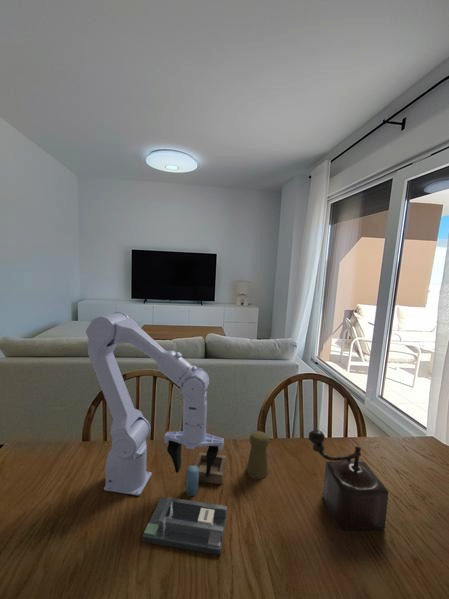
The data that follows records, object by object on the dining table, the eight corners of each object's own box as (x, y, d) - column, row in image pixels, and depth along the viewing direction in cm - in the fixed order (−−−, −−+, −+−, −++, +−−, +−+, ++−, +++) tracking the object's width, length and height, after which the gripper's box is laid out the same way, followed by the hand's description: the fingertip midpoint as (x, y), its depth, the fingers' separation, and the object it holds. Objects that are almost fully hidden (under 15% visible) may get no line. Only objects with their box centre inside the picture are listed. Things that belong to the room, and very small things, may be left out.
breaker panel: (142, 541, 60) (142, 527, 59) (160, 501, 70) (161, 489, 70) (220, 555, 58) (221, 540, 57) (227, 512, 68) (227, 499, 68)
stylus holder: (192, 480, 78) (192, 470, 77) (198, 460, 86) (199, 452, 85) (221, 484, 77) (222, 474, 76) (226, 464, 85) (226, 455, 84)
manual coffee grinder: (359, 492, 76) (366, 426, 74) (386, 530, 65) (394, 454, 63) (301, 493, 75) (306, 426, 73) (317, 532, 64) (324, 454, 62)
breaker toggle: (197, 528, 62) (197, 520, 61) (200, 514, 65) (201, 507, 65) (211, 530, 61) (211, 522, 61) (214, 517, 65) (214, 509, 64)
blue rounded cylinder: (184, 495, 72) (185, 472, 72) (187, 486, 75) (188, 464, 75) (196, 497, 72) (197, 474, 71) (199, 488, 75) (200, 466, 74)
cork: (267, 480, 79) (270, 441, 78) (245, 476, 80) (247, 438, 79) (268, 466, 85) (271, 429, 84) (247, 462, 86) (249, 426, 85)
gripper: (160, 425, 69) (159, 479, 70) (221, 432, 67) (219, 487, 68) (170, 411, 76) (168, 460, 77) (225, 416, 74) (223, 467, 75)
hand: (193, 472), depth 73 cm, fingers open, 7 cm apart
